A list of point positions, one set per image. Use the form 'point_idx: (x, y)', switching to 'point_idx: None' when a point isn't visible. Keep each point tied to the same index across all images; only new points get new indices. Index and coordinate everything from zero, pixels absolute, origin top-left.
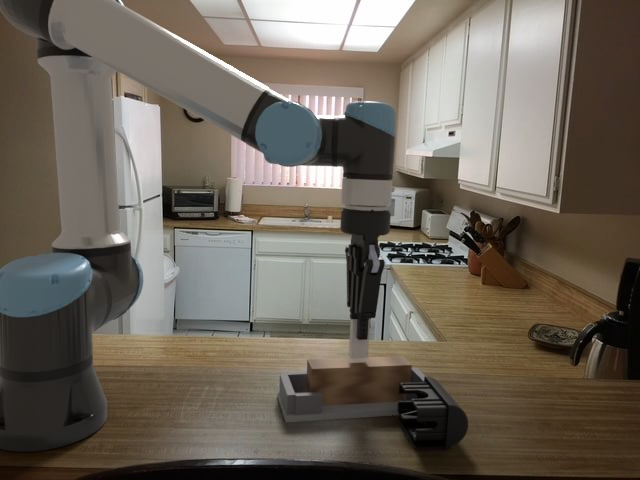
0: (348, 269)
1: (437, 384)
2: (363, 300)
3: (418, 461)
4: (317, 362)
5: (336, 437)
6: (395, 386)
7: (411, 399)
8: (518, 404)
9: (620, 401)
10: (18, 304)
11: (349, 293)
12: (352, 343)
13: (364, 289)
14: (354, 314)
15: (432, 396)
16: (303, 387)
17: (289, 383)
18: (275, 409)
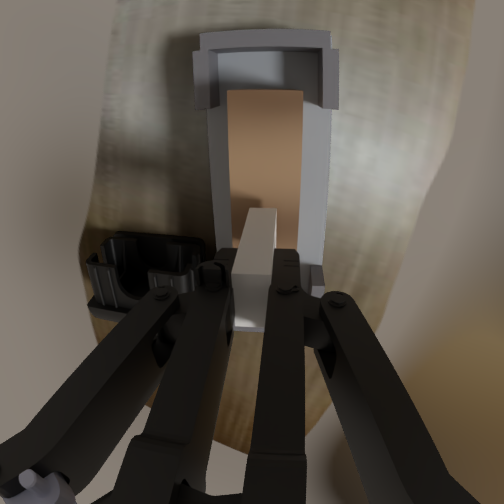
0: (388, 445)
1: None
2: (106, 341)
3: (93, 225)
4: (275, 114)
5: (148, 123)
6: None
7: (113, 267)
8: (241, 389)
9: (239, 446)
10: None
11: (336, 339)
12: (244, 228)
13: (71, 377)
14: (213, 284)
15: (127, 301)
16: (319, 88)
17: (265, 42)
18: (266, 24)
